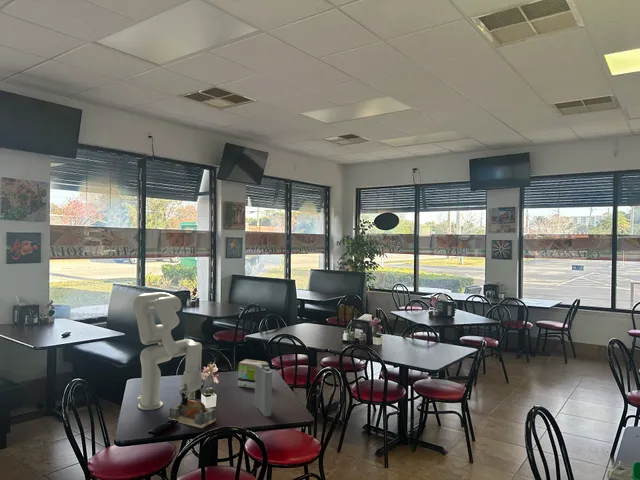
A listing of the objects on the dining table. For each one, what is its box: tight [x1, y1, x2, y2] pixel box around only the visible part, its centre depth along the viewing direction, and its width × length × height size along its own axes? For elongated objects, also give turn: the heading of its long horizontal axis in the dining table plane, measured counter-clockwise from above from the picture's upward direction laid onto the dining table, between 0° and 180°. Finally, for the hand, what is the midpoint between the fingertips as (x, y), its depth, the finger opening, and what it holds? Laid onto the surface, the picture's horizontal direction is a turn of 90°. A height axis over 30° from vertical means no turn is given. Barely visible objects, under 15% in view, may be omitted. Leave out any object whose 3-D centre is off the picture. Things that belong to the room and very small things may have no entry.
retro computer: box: [237, 358, 268, 389], centre depth 291 cm, size 15×10×15 cm, turn 73°
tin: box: [179, 398, 207, 419], centre depth 234 cm, size 15×3×8 cm, turn 64°
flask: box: [254, 362, 273, 417], centre depth 250 cm, size 17×5×25 cm, turn 27°
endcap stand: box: [167, 403, 217, 429], centre depth 234 cm, size 10×21×6 cm, turn 64°
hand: (191, 402), depth 234 cm, fingers open, 9 cm apart
